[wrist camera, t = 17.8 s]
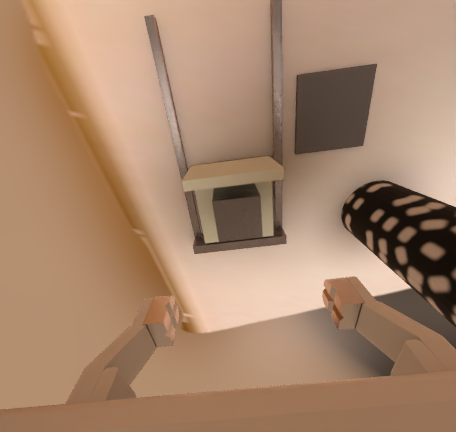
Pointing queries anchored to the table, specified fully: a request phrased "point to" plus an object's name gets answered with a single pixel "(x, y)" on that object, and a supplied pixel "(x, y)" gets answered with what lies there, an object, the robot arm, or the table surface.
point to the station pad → (333, 108)
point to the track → (276, 41)
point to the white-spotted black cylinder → (408, 238)
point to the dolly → (231, 176)
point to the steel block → (237, 212)
